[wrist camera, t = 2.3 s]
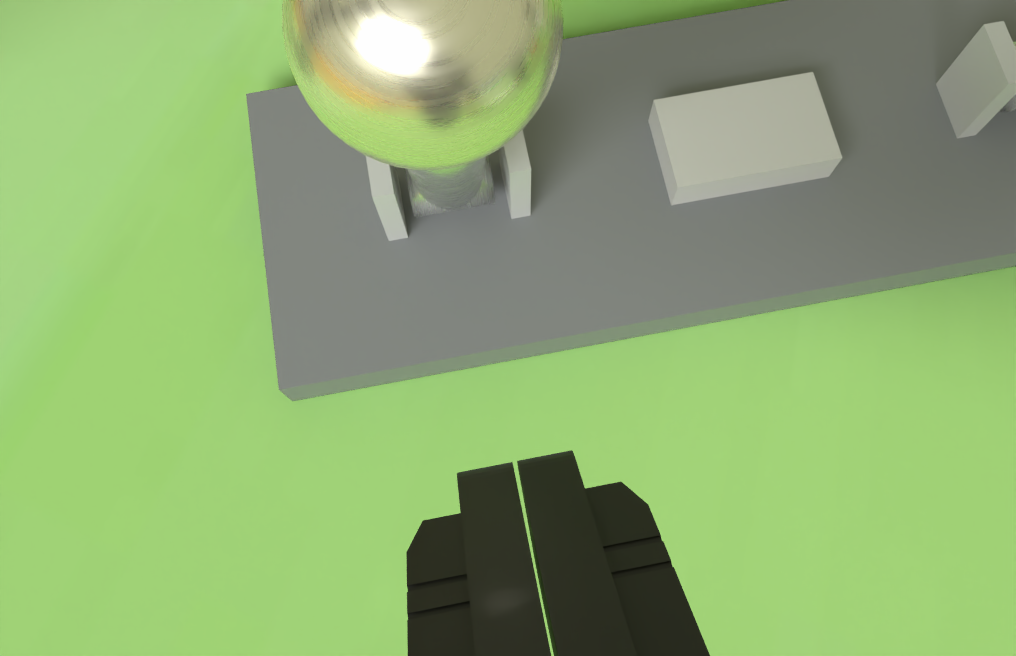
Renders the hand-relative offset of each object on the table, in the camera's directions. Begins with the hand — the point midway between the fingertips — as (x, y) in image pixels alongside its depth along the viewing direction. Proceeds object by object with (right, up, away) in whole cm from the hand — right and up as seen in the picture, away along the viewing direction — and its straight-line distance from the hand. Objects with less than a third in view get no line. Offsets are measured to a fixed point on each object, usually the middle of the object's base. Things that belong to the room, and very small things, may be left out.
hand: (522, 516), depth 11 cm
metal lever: (-2, +7, +14) cm, 16 cm away
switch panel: (+7, +8, +17) cm, 20 cm away
